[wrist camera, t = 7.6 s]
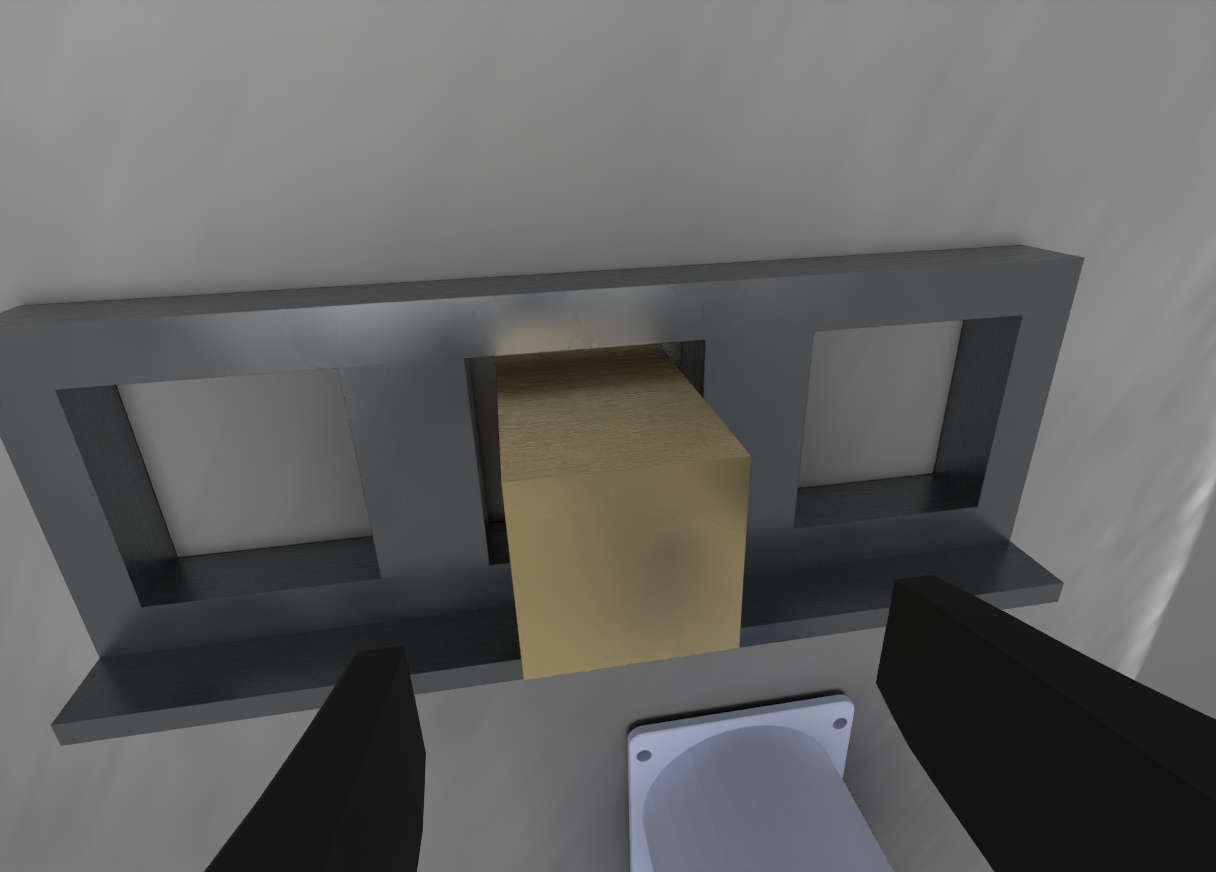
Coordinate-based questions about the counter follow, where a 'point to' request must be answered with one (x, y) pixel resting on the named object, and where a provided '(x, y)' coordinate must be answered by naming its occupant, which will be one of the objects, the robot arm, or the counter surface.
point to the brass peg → (618, 510)
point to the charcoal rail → (453, 477)
